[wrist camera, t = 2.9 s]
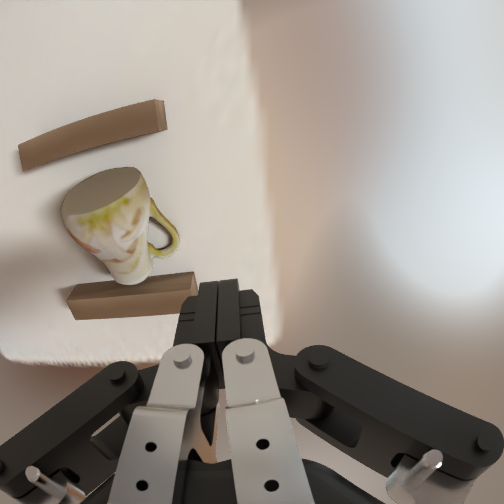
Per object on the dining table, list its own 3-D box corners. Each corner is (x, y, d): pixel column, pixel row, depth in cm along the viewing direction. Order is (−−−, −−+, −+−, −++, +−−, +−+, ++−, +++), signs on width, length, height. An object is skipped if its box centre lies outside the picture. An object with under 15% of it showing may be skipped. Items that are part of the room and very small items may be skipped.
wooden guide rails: (36, 140, 20) (17, 145, 17) (163, 101, 20) (154, 99, 18) (85, 303, 28) (75, 319, 25) (198, 292, 28) (196, 311, 26)
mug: (115, 279, 27) (42, 287, 18) (121, 183, 27) (52, 157, 18) (181, 285, 26) (115, 300, 16) (186, 178, 26) (127, 142, 16)
